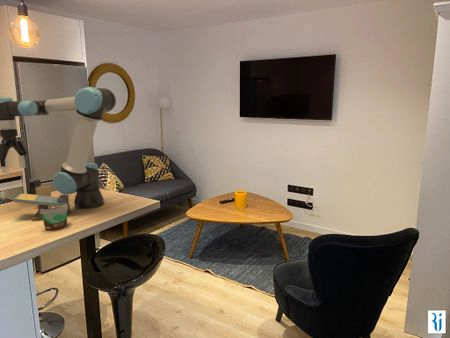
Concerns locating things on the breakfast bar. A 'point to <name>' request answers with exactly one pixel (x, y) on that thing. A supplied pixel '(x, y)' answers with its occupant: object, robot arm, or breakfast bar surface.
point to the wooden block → (43, 191)
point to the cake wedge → (55, 217)
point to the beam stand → (39, 216)
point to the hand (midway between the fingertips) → (14, 170)
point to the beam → (41, 199)
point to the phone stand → (34, 186)
